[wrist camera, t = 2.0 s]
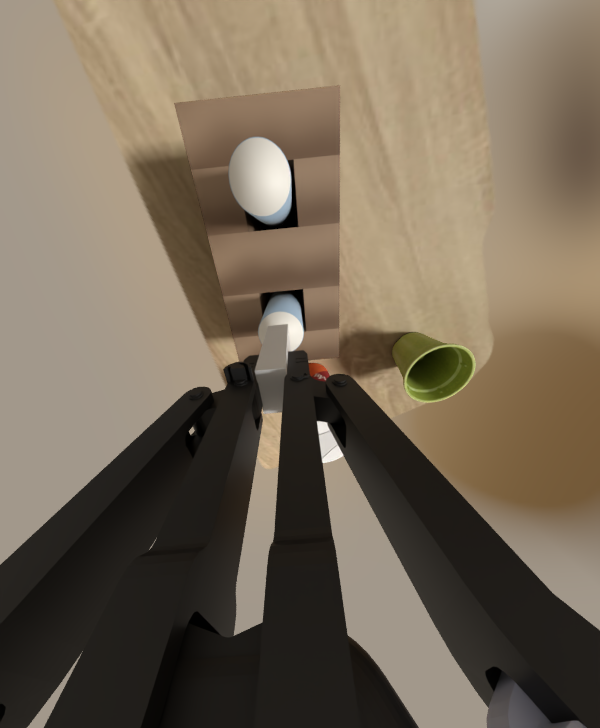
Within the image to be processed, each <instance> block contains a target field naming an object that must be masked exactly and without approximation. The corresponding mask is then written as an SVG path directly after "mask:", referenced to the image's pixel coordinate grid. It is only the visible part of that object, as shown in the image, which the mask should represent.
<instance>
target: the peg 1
mask: <svg viewBox="0 0 600 728" xmlns="http://www.w3.org/2000/svg"><path fill="white" fill-rule="evenodd" d="M228 175H229V184H230V188H231V191H232V193H233V195H234V198H235V199H236V201H237V202H238V204H239V205H240V206H241V207H242V208H243V209H244V210H245V211H246V212H248V213H249V214H251V215H252V216H254V217H255V218H256V219H258V220H259V221H261V222H262V223H264V224H265V225H267V226H270V227H279V226H281V225H283V224H284V223H285V222H286V221H287V220H288V218H289V216H290V214H291V209H292V188H291V171H290V167H289V164H288V161H287V159H286V157H285V155H284V153H283V152H282V150H281V149H280V148H279V147H278V146H277V145H276V144H275V143H273V142H272V141H270V140H269V139H266V138H263V137H251V138H248V139H246V140H244V141H242V142H241V143H240V144H239V145H238V146H237V147H236V149H235V150H234V152H233V154H232V156H231V159H230V163H229V171H228Z"/></svg>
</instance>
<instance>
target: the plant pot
mask: <svg viewBox="0 0 600 728" xmlns="http://www.w3.org/2000/svg"><path fill="white" fill-rule="evenodd" d="M392 356H393V359H394V361H395V362H396V364H397V366H398V368H399V370H400V372H401V374H402V376H403V383H404V388H405V391H406V393H407V394H408V395H409V396H410V397H411V398H412V399H414V400H416V401H419V402H426V403H427V402H428V403H429V402H437V401H441V400H444V399H447V398H449V397H451V396H453V395H454V394H456V393H457V392H459V391H460V390H462V388H464V387H465V386H466V385H467V383H468V382H469V381H470V379H471V377H472V376H473V374H474V370H475V359H474V356H473V354H472V353H471V352H470V351H469V350H468V349H467V348H465V347H463V346H461V345H457V344H447V343H442V342H440V341H437V340H435V339H432V338H430V337H428V336H426V335H424V334H421V333H416V332H413V333H408V334H406V335H404V336H402V337H401V338H400V339H399V340H398V342H396V343H395V345H394V346H393V350H392Z"/></svg>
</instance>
